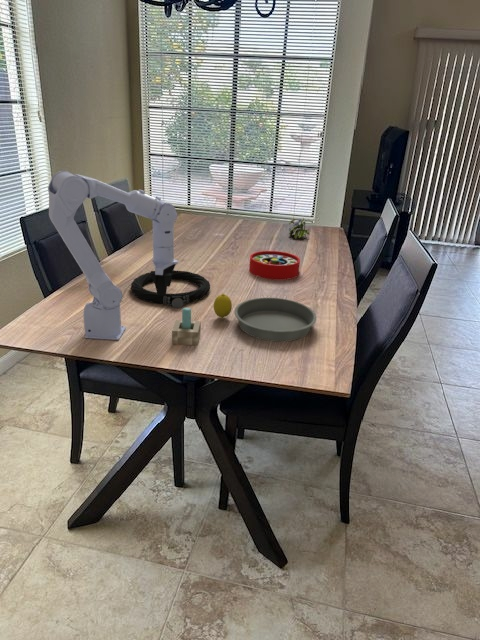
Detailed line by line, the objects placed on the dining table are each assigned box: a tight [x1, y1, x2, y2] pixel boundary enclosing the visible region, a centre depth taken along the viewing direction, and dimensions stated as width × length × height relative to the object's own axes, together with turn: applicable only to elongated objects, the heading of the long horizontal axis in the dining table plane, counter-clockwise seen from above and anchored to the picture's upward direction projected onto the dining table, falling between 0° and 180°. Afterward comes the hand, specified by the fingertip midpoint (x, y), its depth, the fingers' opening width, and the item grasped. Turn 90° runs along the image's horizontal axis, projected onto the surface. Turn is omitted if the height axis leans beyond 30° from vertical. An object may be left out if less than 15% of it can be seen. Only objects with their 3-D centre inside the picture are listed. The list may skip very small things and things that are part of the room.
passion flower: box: [288, 218, 310, 240], centre depth 239 cm, size 11×11×12 cm
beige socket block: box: [171, 319, 202, 346], centre depth 128 cm, size 7×7×4 cm
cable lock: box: [130, 270, 211, 309], centre depth 161 cm, size 28×4×30 cm
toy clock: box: [248, 250, 301, 281], centre depth 186 cm, size 20×6×20 cm
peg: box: [181, 307, 192, 329], centre depth 127 cm, size 2×2×9 cm
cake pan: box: [234, 297, 317, 342], centre depth 139 cm, size 25×25×4 cm
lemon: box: [213, 293, 233, 319], centre depth 141 cm, size 6×6×8 cm
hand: (164, 290), depth 134 cm, fingers open, 7 cm apart
